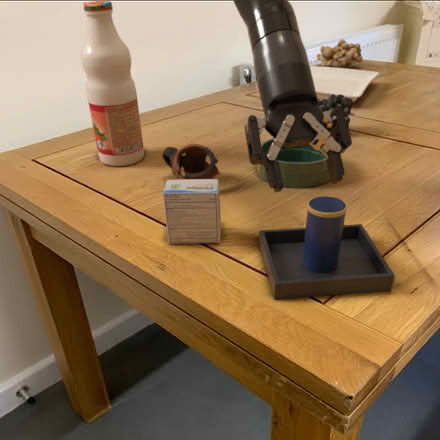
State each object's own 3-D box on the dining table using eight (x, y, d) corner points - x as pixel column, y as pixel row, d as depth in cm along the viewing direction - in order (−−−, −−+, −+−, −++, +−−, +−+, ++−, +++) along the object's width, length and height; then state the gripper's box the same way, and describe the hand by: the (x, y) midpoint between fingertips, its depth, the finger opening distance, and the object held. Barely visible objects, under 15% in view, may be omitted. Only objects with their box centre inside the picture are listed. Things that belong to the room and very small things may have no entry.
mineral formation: (341, 60, 164) (373, 65, 153) (312, 73, 160) (343, 78, 149) (340, 35, 159) (374, 38, 148) (310, 47, 155) (342, 51, 144)
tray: (358, 238, 70) (361, 223, 69) (391, 291, 60) (395, 275, 58) (258, 244, 70) (259, 230, 68) (274, 299, 59) (275, 283, 58)
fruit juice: (137, 168, 94) (114, 5, 76) (92, 166, 95) (60, 6, 78) (150, 150, 101) (131, -2, 84) (108, 149, 102) (81, -1, 85)
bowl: (322, 158, 95) (324, 133, 92) (342, 188, 84) (345, 161, 81) (253, 162, 95) (253, 137, 92) (264, 192, 83) (265, 166, 80)
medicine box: (221, 229, 73) (219, 178, 68) (220, 244, 70) (218, 191, 65) (171, 230, 74) (166, 178, 68) (167, 245, 70) (162, 192, 65)
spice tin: (332, 252, 67) (340, 194, 61) (342, 272, 63) (352, 212, 57) (298, 254, 66) (303, 196, 61) (306, 274, 62) (312, 214, 57)
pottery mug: (228, 177, 90) (228, 149, 82) (204, 215, 87) (202, 189, 79) (175, 153, 92) (170, 124, 85) (150, 189, 89) (142, 162, 82)
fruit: (286, 93, 101) (358, 92, 98) (287, 96, 108) (354, 95, 106) (284, 135, 103) (354, 136, 101) (285, 135, 111) (350, 135, 109)
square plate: (290, 77, 148) (291, 63, 146) (378, 84, 138) (381, 70, 136) (258, 99, 129) (258, 84, 127) (357, 110, 119) (359, 94, 117)
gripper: (240, 64, 60) (266, 182, 59) (341, 55, 63) (369, 168, 61) (229, 96, 68) (253, 202, 66) (320, 87, 70) (345, 189, 69)
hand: (309, 186), depth 64 cm, fingers open, 8 cm apart
